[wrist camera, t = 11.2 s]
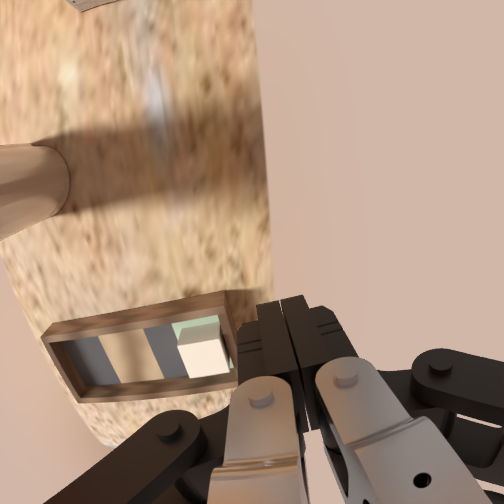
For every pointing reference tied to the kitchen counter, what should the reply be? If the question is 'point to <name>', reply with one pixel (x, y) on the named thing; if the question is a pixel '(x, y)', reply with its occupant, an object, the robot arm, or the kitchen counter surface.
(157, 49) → the kitchen counter surface
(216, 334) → the cream block
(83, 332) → the channel
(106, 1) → the supplement box
